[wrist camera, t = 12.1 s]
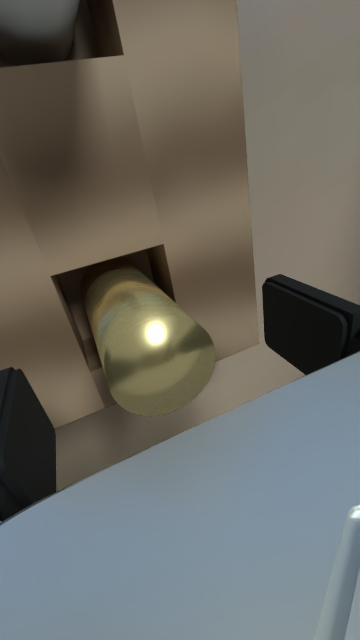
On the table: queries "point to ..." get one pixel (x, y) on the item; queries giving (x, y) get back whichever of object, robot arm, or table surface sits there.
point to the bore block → (123, 187)
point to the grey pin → (37, 30)
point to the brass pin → (144, 340)
